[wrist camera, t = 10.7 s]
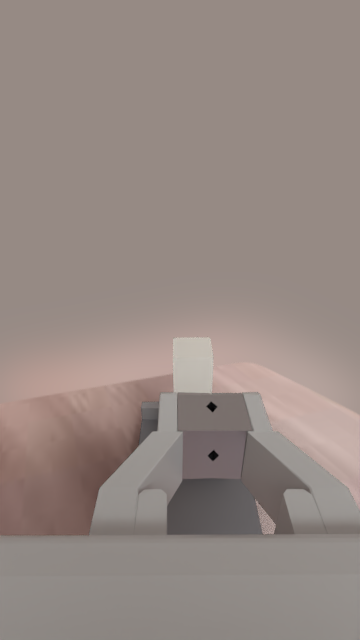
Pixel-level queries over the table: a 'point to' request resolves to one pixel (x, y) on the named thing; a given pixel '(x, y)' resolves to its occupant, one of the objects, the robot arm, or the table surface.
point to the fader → (192, 365)
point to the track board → (205, 498)
